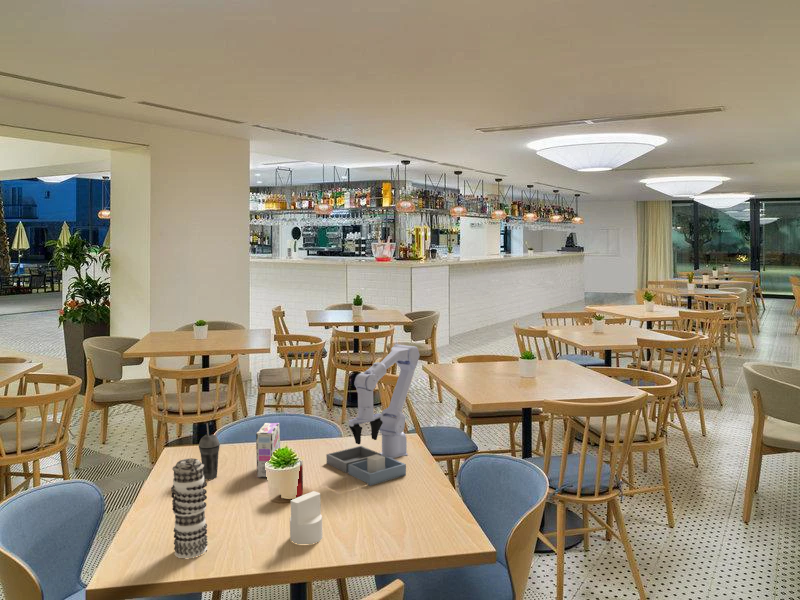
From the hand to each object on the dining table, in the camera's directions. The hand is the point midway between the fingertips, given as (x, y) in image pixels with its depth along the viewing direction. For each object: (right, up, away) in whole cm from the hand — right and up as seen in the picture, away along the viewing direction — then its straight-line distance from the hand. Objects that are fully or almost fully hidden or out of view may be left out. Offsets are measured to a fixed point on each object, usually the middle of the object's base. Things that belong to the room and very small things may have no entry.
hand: (366, 441), depth 236 cm
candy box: (-35, -10, -4) cm, 37 cm away
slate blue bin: (+4, -10, -9) cm, 14 cm away
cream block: (+4, -10, -9) cm, 14 cm away
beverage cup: (-55, -11, -10) cm, 57 cm away
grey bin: (-5, -9, +2) cm, 11 cm away
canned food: (-23, -12, -27) cm, 38 cm away
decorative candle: (-44, -15, -65) cm, 80 cm away
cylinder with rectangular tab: (-14, -15, -58) cm, 61 cm away
